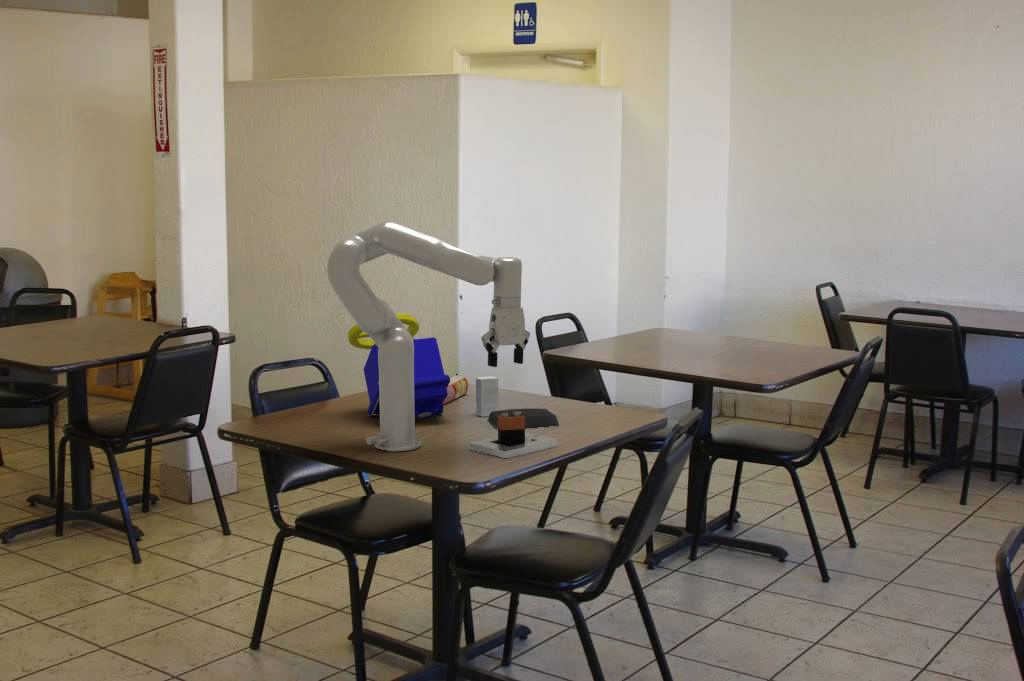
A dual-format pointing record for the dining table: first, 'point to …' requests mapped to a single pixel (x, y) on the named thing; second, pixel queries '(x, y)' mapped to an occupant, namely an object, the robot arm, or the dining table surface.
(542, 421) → the external hard drive
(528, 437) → the plate
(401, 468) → the dining table surface
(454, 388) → the snack package
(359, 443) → the dining table surface
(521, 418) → the battery
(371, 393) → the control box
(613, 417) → the dining table surface
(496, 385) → the skincare box
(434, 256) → the robot arm
